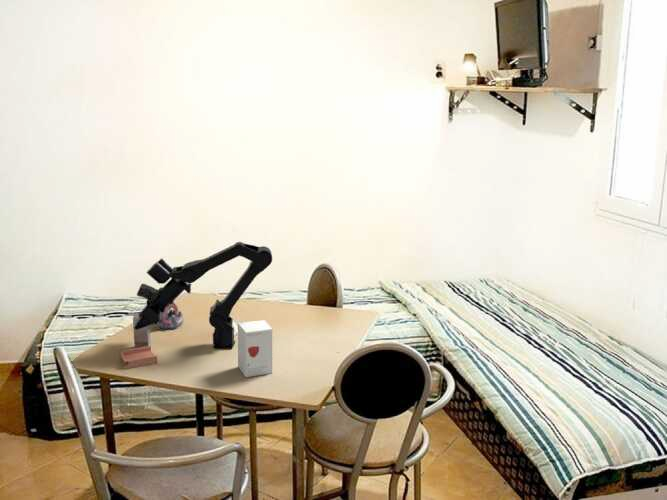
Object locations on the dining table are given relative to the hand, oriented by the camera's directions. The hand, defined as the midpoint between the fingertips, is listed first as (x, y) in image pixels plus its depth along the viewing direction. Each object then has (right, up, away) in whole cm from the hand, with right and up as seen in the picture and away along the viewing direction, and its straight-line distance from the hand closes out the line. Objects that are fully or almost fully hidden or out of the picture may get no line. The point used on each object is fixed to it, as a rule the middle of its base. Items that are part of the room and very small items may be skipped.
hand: (137, 324), depth 211 cm
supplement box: (+42, -13, -13) cm, 45 cm away
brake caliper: (+4, -4, +24) cm, 25 cm away
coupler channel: (+3, -11, -8) cm, 13 cm away
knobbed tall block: (+1, -8, +2) cm, 9 cm away
